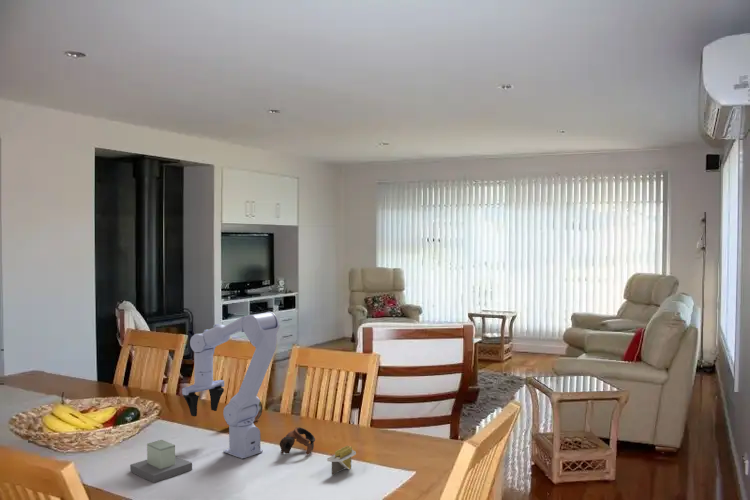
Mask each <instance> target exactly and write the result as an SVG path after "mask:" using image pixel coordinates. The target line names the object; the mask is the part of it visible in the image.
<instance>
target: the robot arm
mask: <svg viewBox="0 0 750 500" xmlns="http://www.w3.org/2000/svg"><path fill="white" fill-rule="evenodd" d="M280 326H281V324H280V321H279V319H278V316H277V315H276V314H275V313H274V312H272V311H266V312H261V313H254V314H247V315H245V316H241V317H240V318H238V319H236V320H234V321H231V322H229V323H228V324H226V325H225V324H221V323H215V324H213V327H211V328H210V329H204V330H203V332H202V333H195V334H192V336H191V337H190V340H189V345H190V348H191V350H192V352H194V356H193V359H194V361H193V362H194V369H193V371H194V376H193V378H194V381H193V382H194V383H193V384H191V385H189V386H186V387H183V388H182V387H181V388H182V389H181V390H182V392H181V393H182V396H183V398H184V400H185V401H186V403H187V405H188V409H189V412H190V416H192V417H194V418H195V417H197V416H198V403H199V402H198V401H199V398H200V396H199V395H198V394H197V393H199V392H204V391H208V392H209V397H210V410H211V411H212V412H213V411H214V412H217V410H218V406H219V402H220V400H221V397H222V395H223V393H224V392H225V389H224V387H225V380H223V379H219V380H218V379H217V380H214V354H215V350H216V347H218V346H220V345H223V344H224V343H226V342H227V343H228V341H230V338H231V336H232V335H235V334H237V333H240V332H241V333H244V334H245V335H246V337H247V339H248V341H249V343H251V345H252V346H253V347H255V350H254V352H253V355H252V357H251V360H250V362H249V365H248V367H247V369H246V372H245V375H244V376H243V377H244V378H243V380H242V382H241V385H240V387H239V390H238V392H236V394H235V395H233V396H232V398H230V400H229V402H228V403H227V404H226V405H225V406H224V407H223V412H222V413H223V414H222V415H223V419H224V420H225V421H224V422H225V423H226V422H227V423H226V424H227V425H228V426H229V427H228V433H229V434H228V437H229V438H228V440H229V441H228V442H229V445H228V447H229V448H226V449H223V453H226V454H229V455H231V456H234V457H237V458H239V459H246V458H249V457H252V456H254V455H257V454H261V453H263V450H262V449H261V430H260V428H259V427H257V426H256V425H255V424H254V423H255V422H256V421H255V417H256V416H257V414H258V411H259V403H260V402H261V399H260V398H259V397H258V393H259V392H260V389H261V386H262V383H263V382H264V379H265V376H266V374H267V371H268V369H269V366H270V364H271V362H272V359H273V358H274V357H273V356H274V354H275V352H276V349H277V337H278V336H277V334H278V332H279V329H280ZM253 421H255V422H253Z"/></svg>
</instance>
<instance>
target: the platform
mask: <svg viewBox="0 0 750 500" xmlns="http://www.w3.org/2000/svg"><path fill="white" fill-rule="evenodd" d="M356 455H357V452H356V450H354V449H353V446H351V445H346V446H344V447H341V448H340V449H337V450H335V451H334V454H333V455H331V456H329V457H327V459H326V460H327V462H330V463H331V476H333V475H335V474H338V473H339V472H341V471H343V470H344V469H347V470H351V469H352V468H351V467H352V457H354V456H356Z"/></svg>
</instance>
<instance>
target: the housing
mask: <svg viewBox="0 0 750 500" xmlns="http://www.w3.org/2000/svg"><path fill="white" fill-rule="evenodd" d="M146 448H147V449H146V457H147V458H146V460H147V463H149V464H151V465H153V466H155V467H157V468H159V469H162V468H166V467H169V466H172V465H175V456H176V445H175V444H173V443H172V442H168V441H166V440H164V439H158V440H155V441H151V442H148V443H147V444H146Z"/></svg>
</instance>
